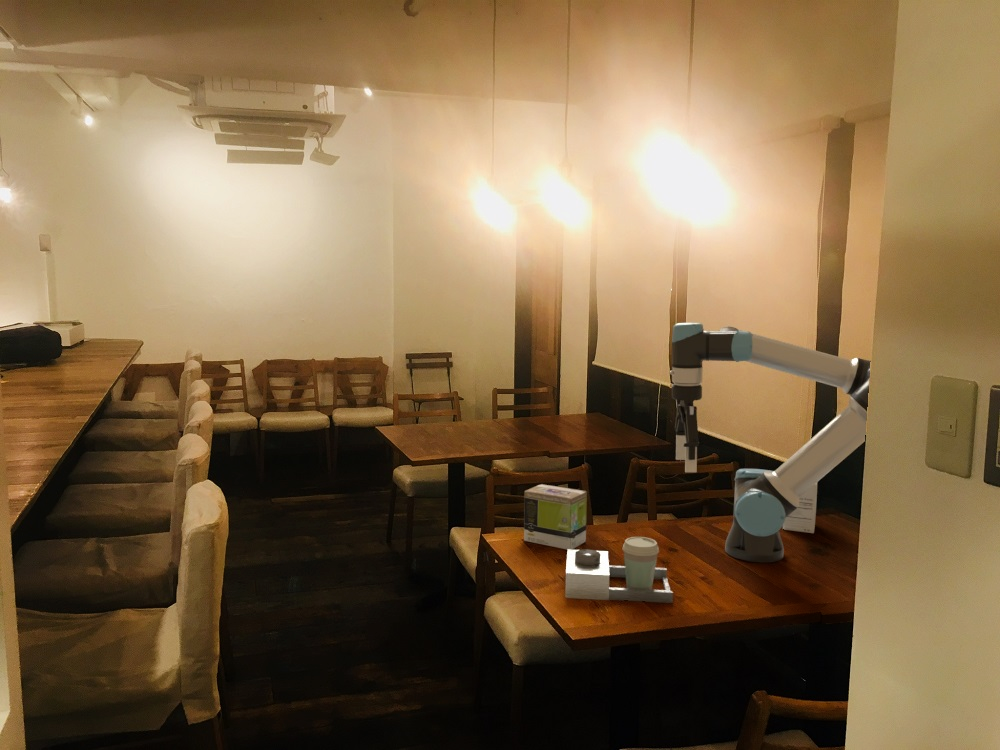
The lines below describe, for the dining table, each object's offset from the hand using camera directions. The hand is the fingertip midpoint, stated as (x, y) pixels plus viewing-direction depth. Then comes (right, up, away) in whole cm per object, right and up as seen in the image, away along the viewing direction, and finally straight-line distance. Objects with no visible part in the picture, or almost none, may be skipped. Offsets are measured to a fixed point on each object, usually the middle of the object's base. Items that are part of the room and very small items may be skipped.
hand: (685, 465), depth 207 cm
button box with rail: (-20, -28, -13) cm, 37 cm away
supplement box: (+42, -23, +34) cm, 58 cm away
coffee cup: (-15, -28, -15) cm, 35 cm away
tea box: (-32, -24, +19) cm, 44 cm away
